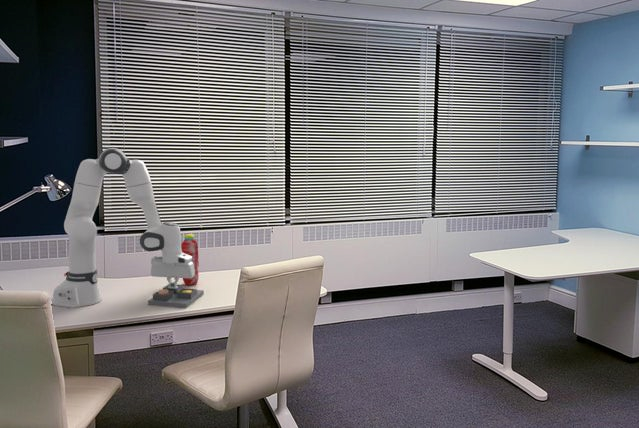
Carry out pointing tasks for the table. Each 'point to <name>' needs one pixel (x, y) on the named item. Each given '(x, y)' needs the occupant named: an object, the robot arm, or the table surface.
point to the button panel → (176, 297)
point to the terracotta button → (163, 291)
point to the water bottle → (191, 249)
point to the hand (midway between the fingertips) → (173, 286)
